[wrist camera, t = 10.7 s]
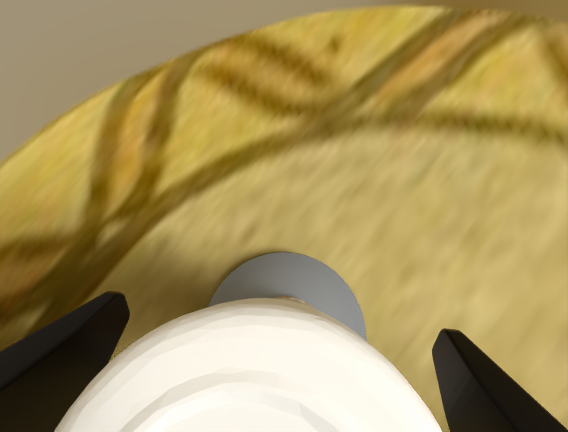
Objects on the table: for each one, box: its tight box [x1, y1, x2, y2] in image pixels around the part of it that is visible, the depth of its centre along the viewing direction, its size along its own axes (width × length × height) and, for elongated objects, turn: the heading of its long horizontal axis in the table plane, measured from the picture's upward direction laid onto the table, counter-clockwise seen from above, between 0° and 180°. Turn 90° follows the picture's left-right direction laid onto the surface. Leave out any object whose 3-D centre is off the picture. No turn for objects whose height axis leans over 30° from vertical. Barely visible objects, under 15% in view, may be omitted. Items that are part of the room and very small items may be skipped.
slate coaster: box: [208, 252, 367, 342], centre depth 16 cm, size 9×9×1 cm
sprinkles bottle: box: [54, 296, 442, 432], centre depth 9 cm, size 5×5×13 cm
